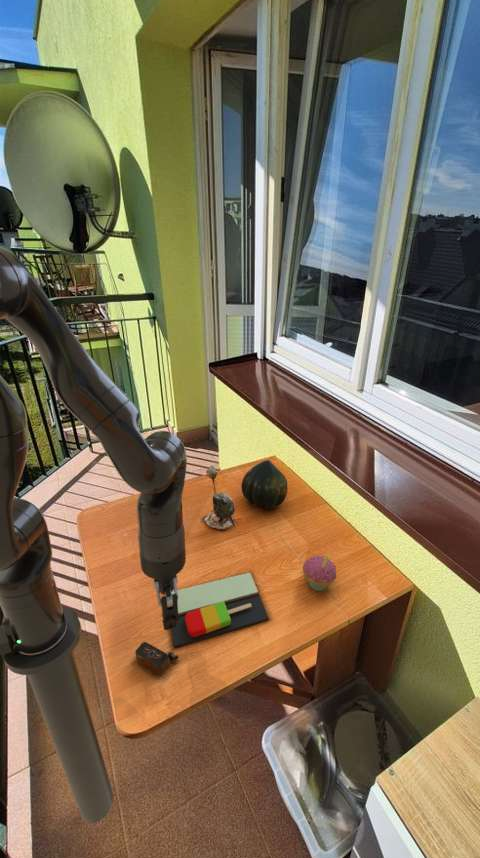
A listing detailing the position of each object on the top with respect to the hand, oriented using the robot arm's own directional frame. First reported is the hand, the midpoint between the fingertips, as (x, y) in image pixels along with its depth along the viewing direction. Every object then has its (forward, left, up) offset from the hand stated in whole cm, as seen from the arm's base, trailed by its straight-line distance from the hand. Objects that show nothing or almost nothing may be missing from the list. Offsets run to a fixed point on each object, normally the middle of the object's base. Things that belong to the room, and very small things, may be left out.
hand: (167, 607), depth 72 cm
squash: (+35, +43, -14) cm, 57 cm away
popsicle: (+11, +4, -13) cm, 18 cm away
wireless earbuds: (-3, -1, -14) cm, 14 cm away
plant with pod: (+19, +36, -14) cm, 43 cm away
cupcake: (+37, +7, -14) cm, 40 cm away
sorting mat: (+11, +8, -14) cm, 19 cm away
